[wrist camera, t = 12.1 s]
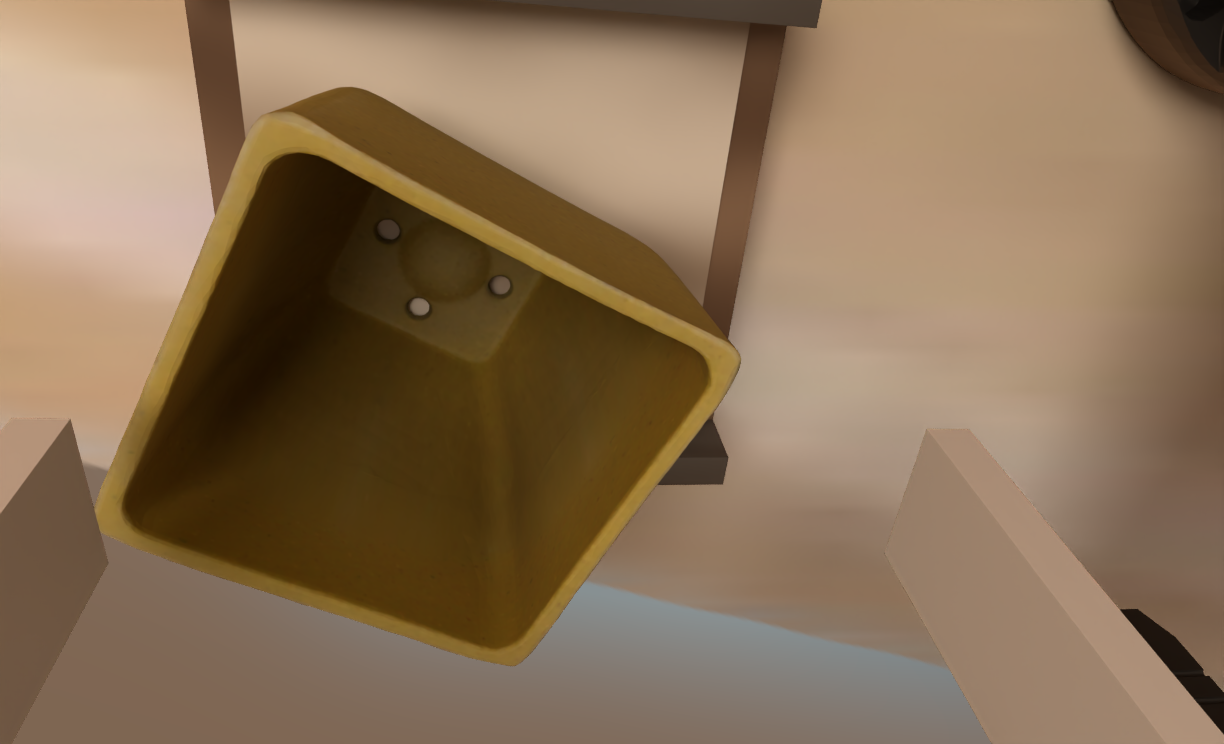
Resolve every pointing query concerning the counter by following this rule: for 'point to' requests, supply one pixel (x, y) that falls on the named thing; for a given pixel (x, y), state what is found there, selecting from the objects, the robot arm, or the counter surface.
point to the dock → (540, 109)
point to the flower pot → (409, 385)
